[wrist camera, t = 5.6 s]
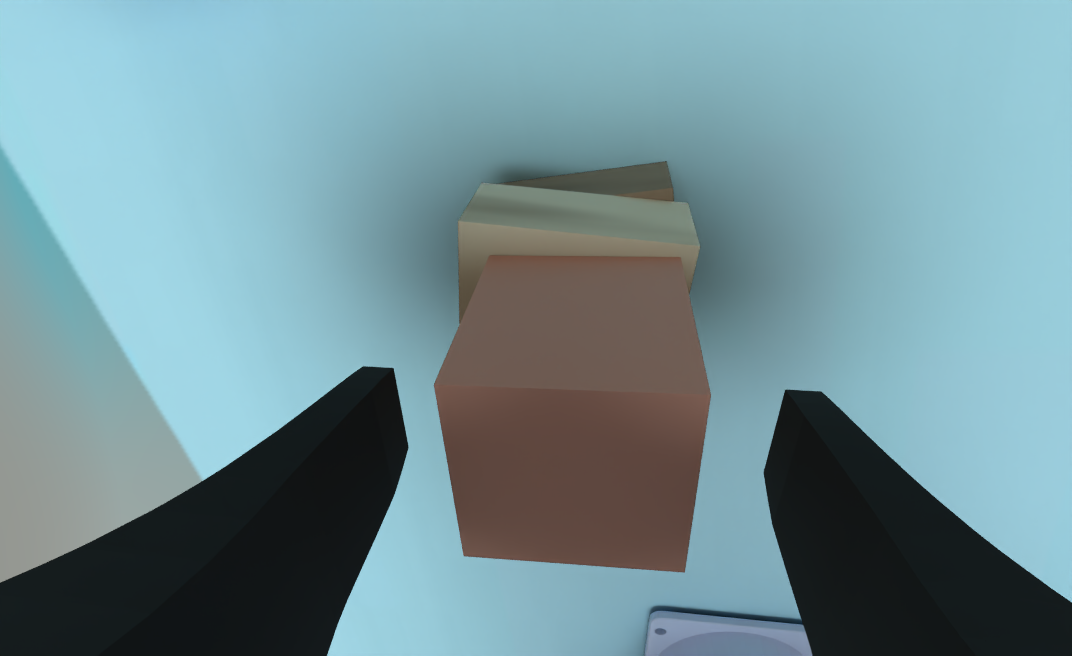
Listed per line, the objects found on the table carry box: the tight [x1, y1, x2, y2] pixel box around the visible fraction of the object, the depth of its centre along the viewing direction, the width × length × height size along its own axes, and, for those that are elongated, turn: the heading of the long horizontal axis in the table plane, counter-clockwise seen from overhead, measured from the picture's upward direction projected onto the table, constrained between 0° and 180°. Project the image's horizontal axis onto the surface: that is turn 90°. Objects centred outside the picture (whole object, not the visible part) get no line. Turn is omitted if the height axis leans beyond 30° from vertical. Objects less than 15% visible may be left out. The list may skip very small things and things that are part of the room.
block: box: [434, 255, 711, 572], centre depth 11 cm, size 4×4×4 cm
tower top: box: [458, 183, 700, 324], centre depth 14 cm, size 5×5×2 cm
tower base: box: [499, 161, 674, 201], centre depth 16 cm, size 5×5×2 cm
